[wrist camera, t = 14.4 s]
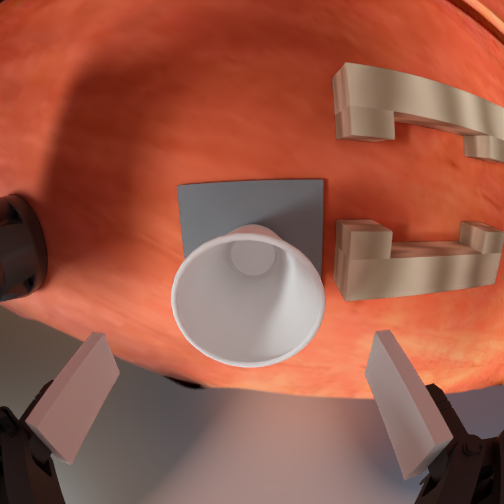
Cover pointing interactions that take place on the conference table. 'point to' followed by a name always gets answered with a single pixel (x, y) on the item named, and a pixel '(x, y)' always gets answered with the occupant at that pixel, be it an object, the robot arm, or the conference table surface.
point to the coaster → (255, 212)
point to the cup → (248, 298)
